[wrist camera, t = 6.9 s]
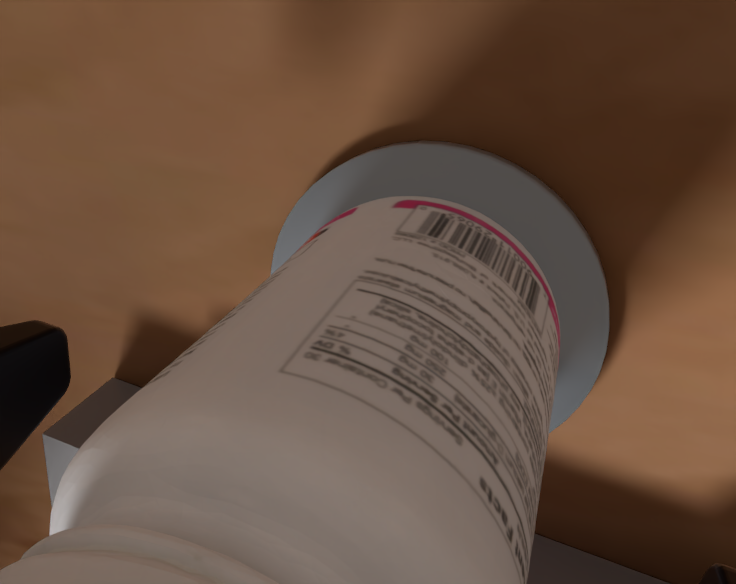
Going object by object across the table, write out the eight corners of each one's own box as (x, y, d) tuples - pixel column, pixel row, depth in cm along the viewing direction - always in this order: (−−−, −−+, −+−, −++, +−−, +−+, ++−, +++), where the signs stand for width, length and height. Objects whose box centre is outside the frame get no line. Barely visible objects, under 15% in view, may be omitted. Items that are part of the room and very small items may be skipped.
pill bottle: (344, 439, 13) (16, 999, 6) (263, 220, 12) (-316, 624, 4) (589, 426, 11) (539, 1248, 4) (530, 159, 10) (267, 717, 2)
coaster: (550, 486, 12) (548, 500, 12) (269, 387, 14) (260, 398, 13) (666, 193, 9) (667, 200, 9) (295, 103, 11) (284, 108, 10)
